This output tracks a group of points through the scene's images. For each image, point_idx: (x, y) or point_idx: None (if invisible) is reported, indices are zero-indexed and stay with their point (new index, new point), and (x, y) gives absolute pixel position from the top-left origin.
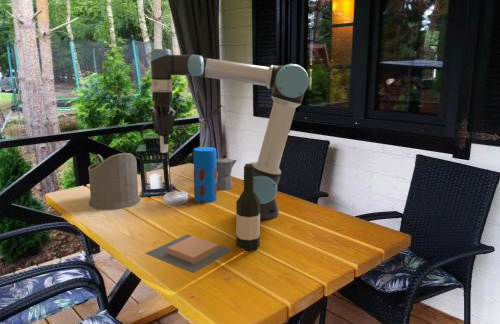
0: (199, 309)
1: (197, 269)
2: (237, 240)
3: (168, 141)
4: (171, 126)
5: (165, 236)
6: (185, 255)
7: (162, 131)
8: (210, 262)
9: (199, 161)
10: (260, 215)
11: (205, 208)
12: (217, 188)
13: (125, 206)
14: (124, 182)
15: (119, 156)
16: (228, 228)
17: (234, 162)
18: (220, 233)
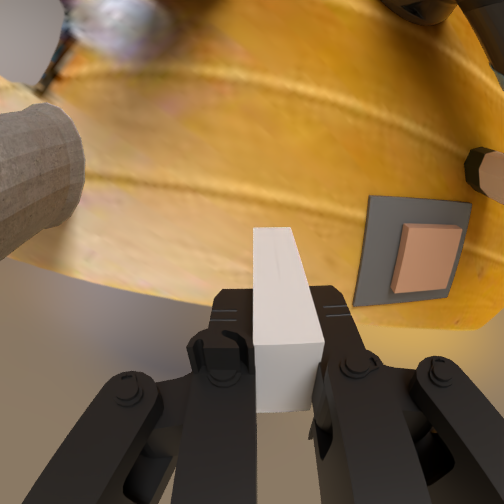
0: (467, 329)
1: (449, 287)
2: (477, 188)
3: (345, 307)
4: (497, 475)
5: (326, 226)
6: (431, 289)
7: (210, 418)
8: (457, 261)
9: None
10: (438, 22)
11: (262, 13)
12: None
13: (81, 172)
14: (35, 186)
15: None
16: (414, 103)
17: None
18: (417, 139)
